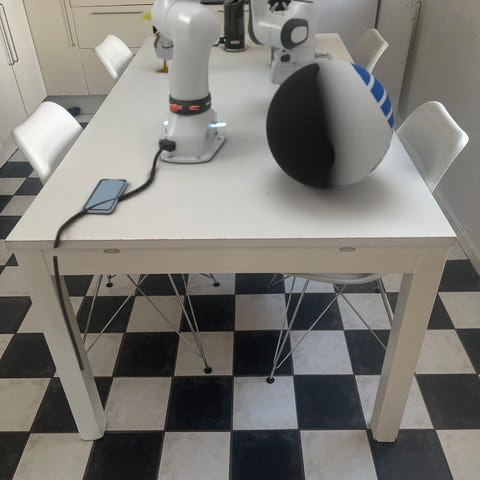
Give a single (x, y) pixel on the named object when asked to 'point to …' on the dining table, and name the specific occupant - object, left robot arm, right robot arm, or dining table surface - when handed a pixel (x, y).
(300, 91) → the black and white ball
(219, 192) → the dining table surface
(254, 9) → the left robot arm
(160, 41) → the toy
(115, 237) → the dining table surface
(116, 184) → the smartphone
